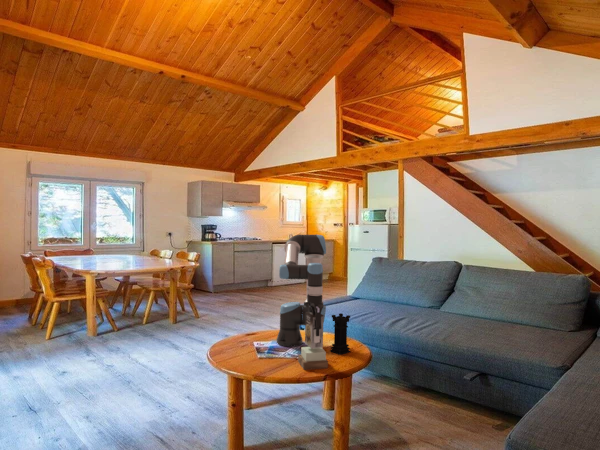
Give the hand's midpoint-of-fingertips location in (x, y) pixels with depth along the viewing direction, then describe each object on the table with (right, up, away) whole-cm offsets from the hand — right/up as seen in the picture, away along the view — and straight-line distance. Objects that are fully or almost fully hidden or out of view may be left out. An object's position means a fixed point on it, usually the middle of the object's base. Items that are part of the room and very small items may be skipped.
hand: (314, 339), depth 203 cm
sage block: (0, -9, 0) cm, 9 cm away
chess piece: (+15, -13, +21) cm, 29 cm away
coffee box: (0, -3, 0) cm, 3 cm away
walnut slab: (-1, -13, 0) cm, 13 cm away
